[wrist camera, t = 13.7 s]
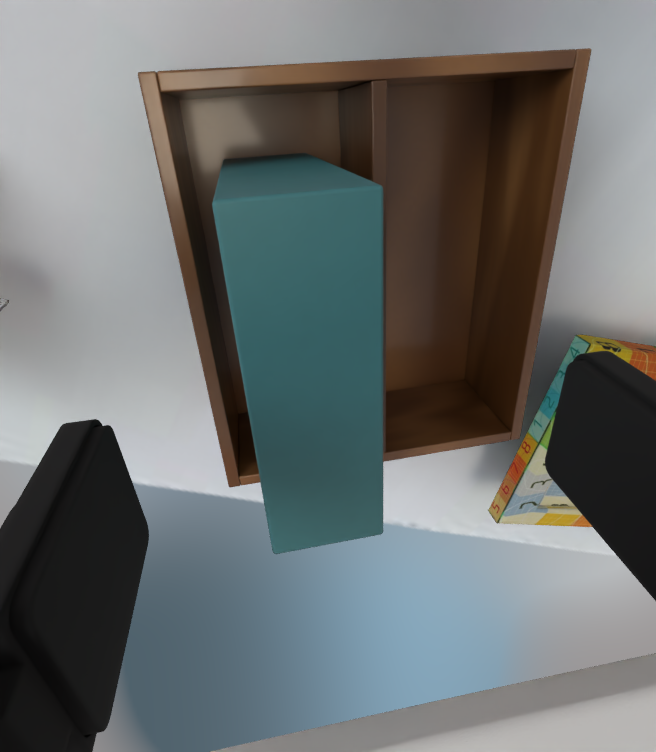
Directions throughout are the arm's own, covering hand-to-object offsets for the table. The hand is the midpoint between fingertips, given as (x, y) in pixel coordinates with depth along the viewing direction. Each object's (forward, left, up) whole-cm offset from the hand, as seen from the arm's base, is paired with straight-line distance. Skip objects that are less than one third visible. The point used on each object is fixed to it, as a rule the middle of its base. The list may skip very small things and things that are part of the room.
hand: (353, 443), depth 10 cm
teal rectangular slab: (0, 0, -13) cm, 13 cm away
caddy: (-3, 0, -14) cm, 14 cm away
